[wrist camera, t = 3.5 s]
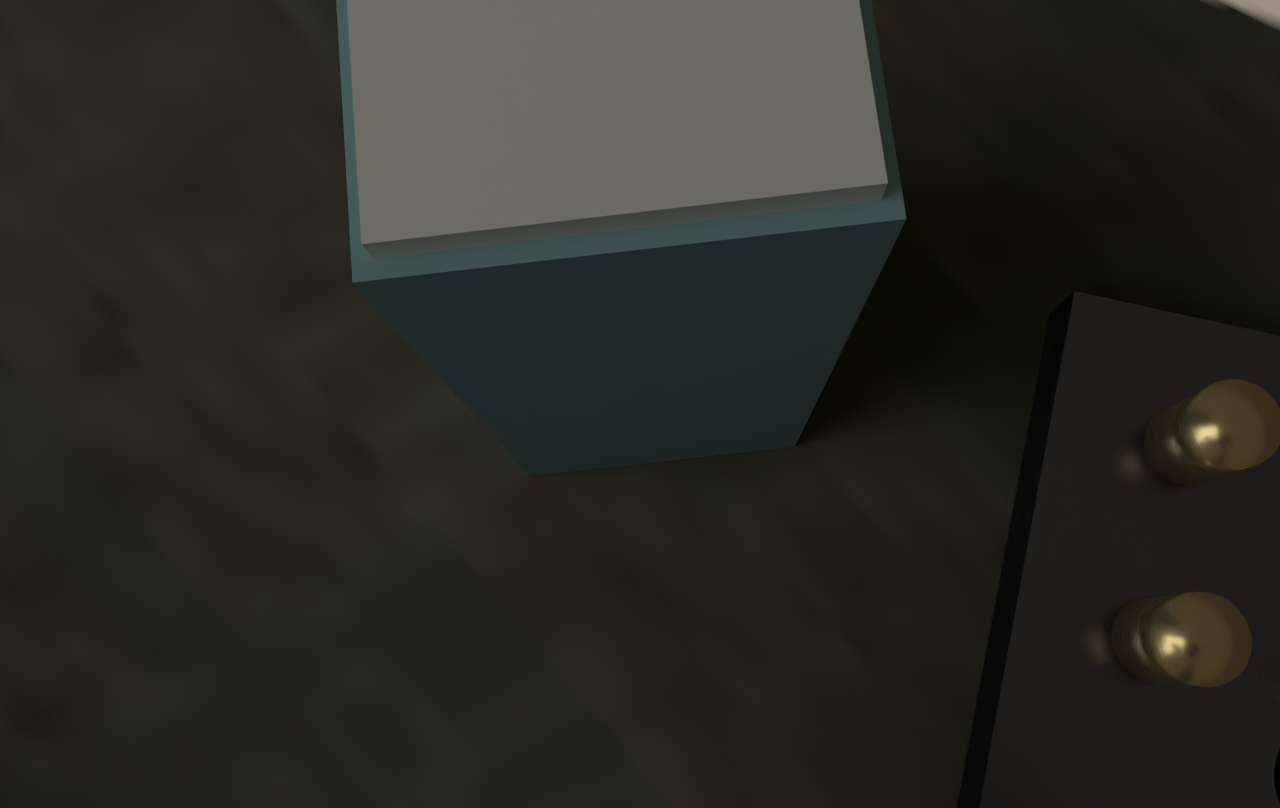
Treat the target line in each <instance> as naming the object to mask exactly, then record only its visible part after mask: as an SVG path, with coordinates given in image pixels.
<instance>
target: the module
mask: <svg viewBox="0 0 1280 808" xmlns="http://www.w3.org/2000/svg"><path fill="white" fill-rule="evenodd" d="M336 2H337V19H338V37H339V54H340V71H341V89H342V106H343V123H344V141H345V158H346V175H347V193H348V210H349V228H350V245H351V262H352V280H353V283H354V285H355V286H356V287H357V288H358V289H359V290H360V291H361V292H362V293H363V294H364V296H365V297H366V298H367V299H368V300H369V301H370V302H371V303H372V304H373V305H374V306H375V308H376V309H377V310H378V311H379V312H380V313H381V314H382V315H383V316H384V317H385V318H386V320H387V321H388V322H389V323H390V324H391V325H392V326H393V327H394V328H395V329H396V330H397V332H398V333H399V334H400V335H401V336H402V337H403V338H404V339H405V340H406V341H407V342H408V344H409V345H410V346H411V347H412V348H413V349H414V350H415V351H416V352H417V353H418V354H419V356H420V357H421V358H422V359H423V360H424V361H425V362H426V363H427V364H428V365H429V366H430V368H431V369H432V370H433V371H434V372H435V373H436V374H437V375H438V376H439V377H440V378H441V380H442V381H443V382H444V383H445V384H446V385H447V386H448V387H449V388H450V389H451V390H452V392H453V393H454V394H455V395H456V396H457V397H458V398H459V399H460V400H461V401H462V402H463V404H464V405H465V406H466V407H467V408H468V409H469V410H470V411H471V412H472V413H473V415H474V416H475V417H476V418H477V419H478V420H479V421H480V422H481V423H482V424H483V425H484V427H485V428H486V429H487V430H488V431H489V432H490V433H491V434H492V435H493V436H494V437H495V439H496V440H497V441H498V442H499V443H500V444H501V445H502V446H503V447H504V448H505V449H506V451H507V452H508V453H509V454H510V455H511V456H512V457H513V458H514V459H515V460H516V461H517V463H518V464H519V465H520V466H521V467H522V468H523V469H524V470H525V471H526V472H527V473H528V475H529V476H537V475H546V474H555V473H564V472H573V471H582V470H591V469H600V468H609V467H618V466H627V465H636V464H645V463H654V462H663V461H672V460H681V459H690V458H699V457H708V456H717V455H726V454H735V453H744V452H753V451H762V450H770V449H779V448H788V447H795V445H796V443H797V441H798V439H799V437H800V435H801V433H802V431H803V429H804V427H805V425H806V423H807V421H808V419H809V417H810V415H811V412H812V410H813V408H814V406H815V404H816V402H817V400H818V398H819V396H820V394H821V392H822V390H823V388H824V386H825V384H826V382H827V380H828V378H829V376H830V374H831V372H832V370H833V368H834V366H835V364H836V362H837V360H838V357H839V355H840V353H841V351H842V349H843V347H844V345H845V343H846V341H847V339H848V337H849V335H850V333H851V331H852V329H853V327H854V325H855V323H856V321H857V319H858V317H859V315H860V313H861V311H862V309H863V307H864V305H865V302H866V300H867V298H868V296H869V294H870V292H871V290H872V288H873V286H874V284H875V282H876V280H877V278H878V276H879V274H880V272H881V270H882V268H883V266H884V264H885V262H886V260H887V258H888V256H889V254H890V252H891V250H892V248H893V245H894V243H895V241H896V239H897V237H898V235H899V233H900V231H901V229H902V227H903V225H904V223H905V221H906V213H905V206H904V200H903V194H902V188H901V181H900V175H899V169H898V163H897V157H896V150H895V144H894V138H893V132H892V125H891V119H890V113H889V107H888V101H887V94H886V88H885V82H884V76H883V70H882V63H881V57H880V51H879V45H878V38H877V32H876V26H875V20H874V14H873V7H872V1H871V0H336Z"/></svg>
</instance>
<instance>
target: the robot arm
mask: <svg viewBox="0 0 1280 808" xmlns="http://www.w3.org/2000/svg"><path fill="white" fill-rule="evenodd" d="M1274 783H1275V789H1276V793H1277V797H1278V800H1279V803H1280V748H1279V752H1278V755H1277V759H1276V763H1275V768H1274Z"/></svg>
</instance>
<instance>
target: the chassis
mask: <svg viewBox="0 0 1280 808" xmlns="http://www.w3.org/2000/svg"><path fill="white" fill-rule="evenodd" d="M1279 748H1280V336H1278V335H1274V334H1269V333H1265V332H1260V331H1255V330H1251V329H1246V328H1242V327H1237V326H1233V325H1228V324H1223V323H1219V322H1214V321H1210V320H1205V319H1201V318H1196V317H1191V316H1187V315H1182V314H1178V313H1173V312H1169V311H1164V310H1159V309H1155V308H1150V307H1146V306H1141V305H1137V304H1132V303H1127V302H1123V301H1118V300H1114V299H1109V298H1105V297H1100V296H1095V295H1091V294H1086V293H1082V292H1077V291H1074V292H1073V293H1072V294H1071V295H1070V296H1069V297H1068V298H1067V299H1066V300H1065V301H1064V302H1062V303H1061V304H1060V305H1059V306H1058V307H1057V308H1056V309H1055V310H1054V311H1053V312H1052V313H1051V314H1050V317H1049V322H1048V327H1047V333H1046V338H1045V343H1044V348H1043V354H1042V359H1041V364H1040V370H1039V375H1038V380H1037V386H1036V391H1035V396H1034V402H1033V407H1032V412H1031V418H1030V423H1029V428H1028V433H1027V439H1026V444H1025V449H1024V455H1023V460H1022V465H1021V471H1020V476H1019V481H1018V487H1017V492H1016V497H1015V503H1014V508H1013V513H1012V518H1011V524H1010V529H1009V534H1008V540H1007V545H1006V550H1005V556H1004V561H1003V566H1002V572H1001V577H1000V582H999V588H998V593H997V598H996V603H995V609H994V614H993V619H992V625H991V630H990V635H989V641H988V646H987V651H986V657H985V662H984V667H983V673H982V678H981V683H980V689H979V694H978V699H977V704H976V710H975V715H974V720H973V726H972V731H971V736H970V742H969V747H968V752H967V758H966V763H965V768H964V774H963V779H962V784H961V789H960V795H959V800H958V805H957V808H1280V803H1279V800H1278V797H1277V793H1276V789H1275V783H1274V768H1275V763H1276V759H1277V755H1278V752H1279Z"/></svg>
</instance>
